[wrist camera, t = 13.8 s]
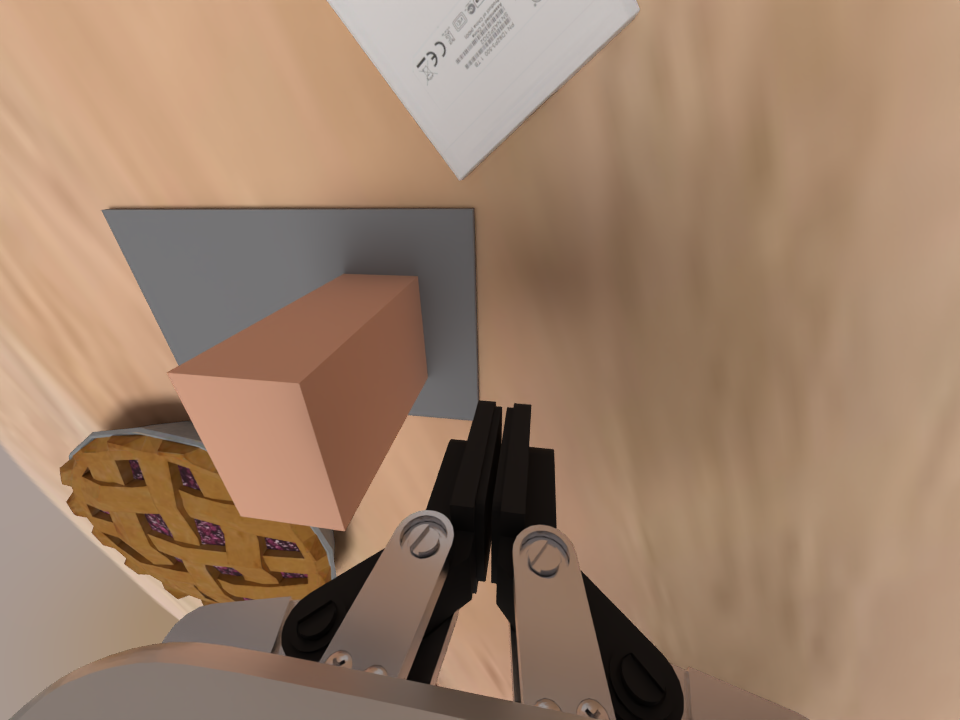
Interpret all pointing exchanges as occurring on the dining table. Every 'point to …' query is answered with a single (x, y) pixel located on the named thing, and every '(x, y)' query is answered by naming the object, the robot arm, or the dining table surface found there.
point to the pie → (188, 519)
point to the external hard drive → (479, 60)
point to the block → (310, 398)
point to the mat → (308, 276)
